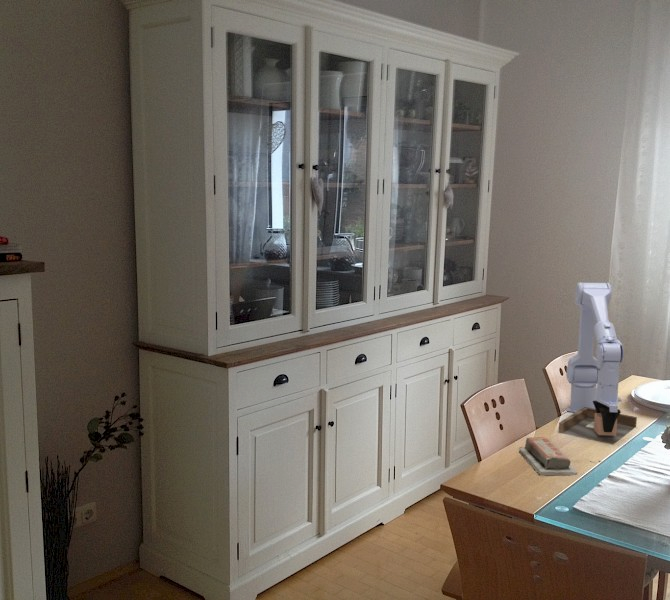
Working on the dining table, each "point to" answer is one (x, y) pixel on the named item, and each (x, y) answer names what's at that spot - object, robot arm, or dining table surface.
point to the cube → (599, 426)
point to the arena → (584, 426)
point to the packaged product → (546, 457)
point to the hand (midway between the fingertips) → (605, 428)
